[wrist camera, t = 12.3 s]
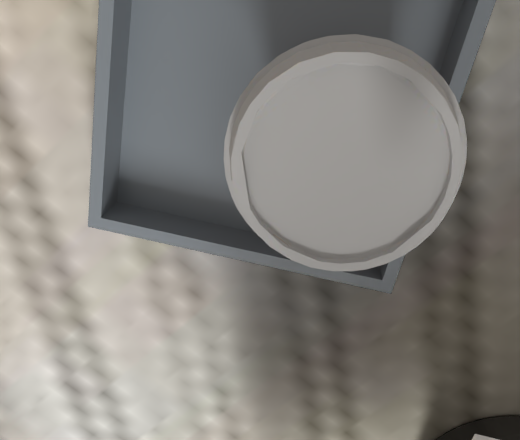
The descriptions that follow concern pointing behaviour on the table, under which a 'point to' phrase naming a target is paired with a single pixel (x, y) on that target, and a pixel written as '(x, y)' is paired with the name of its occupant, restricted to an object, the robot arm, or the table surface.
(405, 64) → the disposable coffee cup
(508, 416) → the robot arm
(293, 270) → the tray
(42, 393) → the table surface
